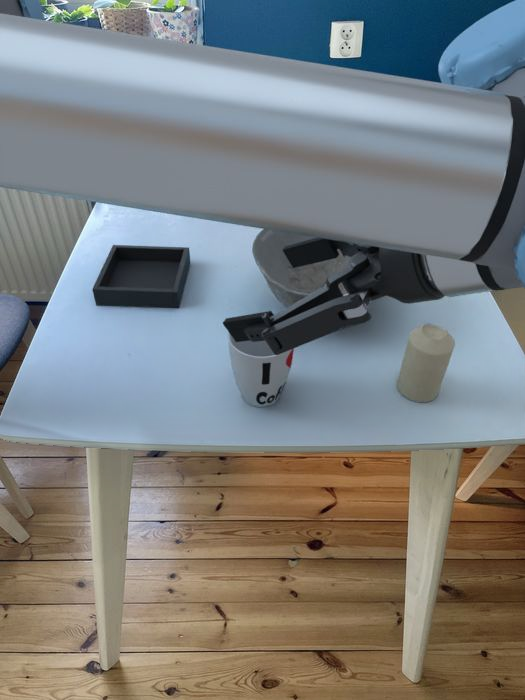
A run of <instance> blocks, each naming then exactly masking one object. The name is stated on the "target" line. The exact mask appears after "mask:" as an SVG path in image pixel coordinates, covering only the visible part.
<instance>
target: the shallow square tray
mask: <svg viewBox="0 0 525 700" xmlns="http://www.w3.org/2000/svg"><path fill="white" fill-rule="evenodd" d="M190 253H191V252H190V247H188V246H187V247H186V246H159V245H158V246H157V245H127V244H112V247H111V248H110V251H109V253H108V255H107V257H106V259H105V261H104V263H103V265H102V267H101V270H100V272H99V274H98V276H97V278H96V280H95V283H94V284H93V287H92V288H91V289H92V294H93V298H94V303H95V306H101V307H103V306H105V307H106V306H107V307H128V308H129V307H131V308H132V307H133V308H134V307H135V308H156V309H157V308H162V309H179V308H180V305H181V301H182V298H183V294H184V290H185V287H186V282H187V278H188V274H189V270H190V267H191V254H190Z"/></svg>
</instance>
